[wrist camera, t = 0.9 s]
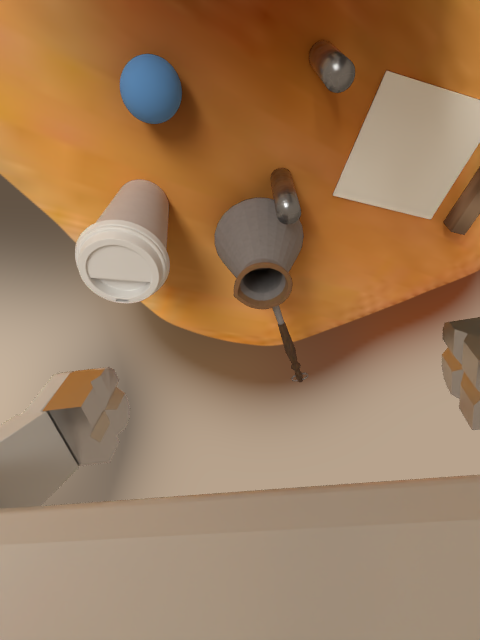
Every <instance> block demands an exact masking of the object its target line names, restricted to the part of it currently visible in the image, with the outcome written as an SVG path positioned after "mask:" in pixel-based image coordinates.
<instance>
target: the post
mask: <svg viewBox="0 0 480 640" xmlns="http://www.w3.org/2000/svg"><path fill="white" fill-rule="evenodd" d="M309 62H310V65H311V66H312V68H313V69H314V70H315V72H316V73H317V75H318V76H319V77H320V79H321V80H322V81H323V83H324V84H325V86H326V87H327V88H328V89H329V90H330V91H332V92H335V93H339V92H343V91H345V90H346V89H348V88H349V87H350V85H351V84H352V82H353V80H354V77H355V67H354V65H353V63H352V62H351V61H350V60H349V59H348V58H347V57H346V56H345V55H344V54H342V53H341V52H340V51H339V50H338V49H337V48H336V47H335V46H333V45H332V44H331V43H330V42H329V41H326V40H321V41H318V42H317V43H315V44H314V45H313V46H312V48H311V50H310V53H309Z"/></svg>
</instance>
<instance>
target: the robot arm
mask: <svg viewBox="0 0 480 640" xmlns="http://www.w3.org/2000/svg"><path fill="white" fill-rule="evenodd" d="M443 340H444V342H445V343H446V345H447V346H448V348H447V349H446V350H445V352H444V353H443V354H442V370H443V376H444V380H445V382H446V385H447V387H448V389H449V391H450V393H451V394H452V395H454V396H455V397H457V398H459V399H460V403H459V409H460V410H461V412H462V414H463V415H464V417H465V419H466V420H467V422H468V424H469V426H470V427H471V429H472V430H478V429H480V317H478V318H471V319H465V320H459V321H453V322H446V323H445V324H444V327H443ZM118 382H119V378H118V376H117V374H116V373H115V371H114V369H112V368H110V367H105V368H97V369H87V370H78V371H69V372H62V373H58V374H55V375H53V376H52V377H51V378H50V380H49V381H48V382H47V383H46V384H45V386H44V387H43V388H42V390H41V391H40V392H39V393H38V394H37V396H36V397H35V398H34V400H33V401H32V402H31V403H30V405H29V406H28V407H27V408H26V409H25V411H24V412H23V413H22V414H19V415H15V416H14V417H12V418H11V419H9V420H7V421H6V422H4V423H3V424H1V425H0V640H480V475H468V476H454V477H439V478H426V479H412V480H411V479H410V480H397V481H382V482H368V483H355V484H354V483H353V484H341V485H340V484H339V485H326V486H311V487H297V488H283V489H269V490H255V491H242V492H228V493H214V494H200V495H188V496H174V497H160V498H145V499H131V500H117V501H103V502H89V503H76V504H60V505H46V506H41V505H42V504H43V503H44V502H45V501H46V500H47V499H48V498H49V497H50V496H51V495H52V494H53V493H54V492H55V491H56V490H57V489H58V488H59V487H60V486H61V485H62V484H63V483H64V482H65V481H66V480H67V479H68V478H69V477H70V476H71V475H72V474H73V473H74V472H75V471H76V470H77V469H78V468H79V466H83V465H91V464H99V463H108V462H111V459H112V457H113V455H114V453H115V451H116V448H117V446H118V444H119V439H118V437H117V435H118V434H119V433H121V432H122V431H123V430H124V429H125V428H126V426H127V424H128V421H129V415H130V406H129V402H128V399H127V396H126V394H125V393H124V392H123V391H121V390H120V389H119V388H117V385H118Z"/></svg>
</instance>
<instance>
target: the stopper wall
mask: <svg viewBox="0 0 480 640" xmlns="http://www.w3.org/2000/svg"><path fill="white" fill-rule="evenodd" d="M479 214H480V167H479V169H478V170H477V172H476V174H475V175H474V177H473V178H472V180H471V181H470V183H469V184H468V186H467V187H466V189H465V190H464V192H463V193H462V195H461V196H460V198H459V199H458V201H457V202H456V204H455V205H454V207H453V208H452V210H451V211H450V213H449V214H448V216H447V217H446V219H445V220H444V224H445V225H446V226H447V227H448V229H449V230H450V231H451V232H454V233H458V234H462V235H465V233H466V232H467V231H468V229H469V228H470V227H471V225H472V224H473V222H474V221H475V220H476V218H477V217H478V215H479Z"/></svg>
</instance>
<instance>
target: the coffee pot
mask: <svg viewBox="0 0 480 640" xmlns="http://www.w3.org/2000/svg"><path fill="white" fill-rule="evenodd" d="M303 237H304V236H303V229H302V225H301V223H300V220H299V219H298V220H297V221H296V222H295V223H293V224H283V223H281V222H280V221H279V220H278V218H277V215H276V209H275V203H274V200H273V199H269V198H252V199H247V200H244V201H242V202H240V203H238V204H236V205H234V206H232V207H231V208H230V209H229V210H228V211H227V212H226V213H225V214H224V215H223V216H222V218H221V219H220V221H219V223H218V225H217V228H216V231H215V247H216V250H217V253H218V255H219V257H220V258H221V260H222V261H223V263H224V264H225V265H226V266H227V268H228V269H229V270H230V271H231V272H232V273H233V274H234V276H235V277H236V278H237V279H236V281H235V285H234V297H235V298H237V299H238V300H239V301H240V302H242V303H243V304H245V305H247V306H249V307H251V308H255V309H269V308H273V311H274V313H275V316H276V319H277V321H278V326H279V330H280V333H281V337H282V340H283V344H284V347H285V351H286V353H287V355H288V357H289V359H290V361H291V363H292V365H291V368H292V369H293V370H295V375H294V376H293V377H292V378H291V379H292V381H299V382H302V381H303V380H304V379H306V378H307V377H308V374H307V373H301V372H300V369H299V368H300V364H299V363H298V362H297V357H296V350H295V347H294V345H293V342H292V340H291V337H290V335H289V332H288V329H287V327H286V324H285V322H284V320H283V317H282V314H281V310H280V307H279V305H280V304H281V303H283V302H284V301H285V300H286V299H287V298H288V297H289V295H290V293H291V291H292V285H293V284H292V278H291V276H290V275H289V273H288V272H289V270H290V269H291V267H292V265H293V263H294V262H295V260H296V258H297V256H298V254H299V252H300V250H301V248H302V243H303ZM302 374H307V376H306V377H305V378H303V377H302ZM295 376H296V378H297V380H293V378H294V377H295ZM302 378H303V379H302Z"/></svg>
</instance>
